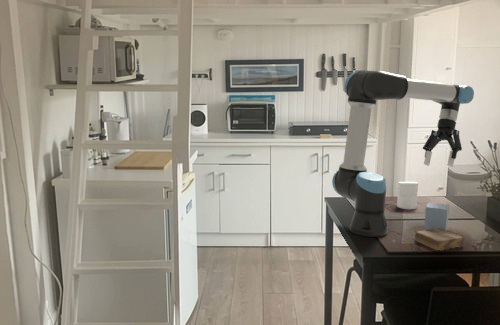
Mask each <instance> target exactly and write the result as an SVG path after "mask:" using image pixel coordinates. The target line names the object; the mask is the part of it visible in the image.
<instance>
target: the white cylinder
mask: <svg viewBox="0 0 500 325" xmlns="http://www.w3.org/2000/svg"><path fill="white" fill-rule="evenodd" d="M397 184H398V186H397V198H396V199H397V200H396V202H397V203H396V207H397V208H400V209H402V210H403V209H404V210H416V209H417V207H418V206H417V203H418V191H419V190H418V189H419V183H418V182H417V181H398V183H397Z"/></svg>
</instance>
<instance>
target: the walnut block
mask: <svg viewBox="0 0 500 325" xmlns="http://www.w3.org/2000/svg"><path fill="white" fill-rule="evenodd" d="M414 238H415V239H414V241H415V242H418V243H419V244H422V245H424V246H426V247H428V248H431V249H433V250H435V251H437V250H440V251H445V250H444V249H446V250H450V249H449V248H452V249H456V248H455V247H458V248H462V247H461V246H464V237H463V236H461V235H458V234H456V233H454V232H450V231H449V230H447V231H446V230H443V229H441V228H436V229H430V230H424V229H423V230H419V231H415V237H414Z"/></svg>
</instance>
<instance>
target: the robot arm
mask: <svg viewBox="0 0 500 325" xmlns="http://www.w3.org/2000/svg"><path fill="white" fill-rule="evenodd" d="M343 88H344V92H345V94H346V95H347V103H348V105H349V106H350V110H349V117H348V124H347V134H346V140H345V147H344V154H343V155H344V156H343V162H342V163H340V164H339V166H338V169H337V171H336V172H335V173H334V174H333V176H332V180H331V183H332V188H333V190H334V191H335V192H336V194H338V195H340V196H341V197H343V198H346V199H348V200H351V201H354V202H355V203H354V204H355V205H354V213H353V215H352V218H351V222H350V224H349V231H350V232H351V233H353V234H355V235H357V236H361V237H369V238H370V237H371V238H374V237H375V238H377V237H384V236H386V235H388V232H389V230H388V229H389V226H388V223H387V222H388V221H387V219H386V215H385V210H386V209H385V208H386V198H387V197H386V193H387V181H386V178H385V177H384V176H383V175H381V174H379V173H375V172H370V171H369V172H368V169H367V167H366V166H365V158H366V151H367V145H368V144H367V143H368V137H369V130H370V124H371V123H370V122H371V116H372V115H371V114H372V110H373V109H372V108H374V107H375V106H376V104H377V101H384V100H403V99H414V100H424V101H432V102H435V103H437V104H440V105H441V108H440V111H439V117H438V118H439V119H438V121H437V130H434V129H432V130H431V132H430V135H429V137H428V138H427V140H426V142H425V143H424V145H423V147H422V150H424V151H425V152H424V162H423V165H424V166H427V167H429V166H430V163H431V158H432V155H433V152H432V150H433V149H434V148H435V147H436V146H437V145H438V144H439V143H440V142H442V141H446V142H448V145H449V146H450V149H451V150H450V151H449V156H448V159H447V164H446V166H448V167H454V165H455V164H454V163H455V159H456V158H457V154H458V152H460V151H462V150H463V149H462V142H461V139H460V131H459V130H458V129H456V125H457V121H458V115H459V110H460V105H464V104H469V103H471V102H472V101H473V100H474V96H475V91H474V89H473V87H472V86H470V85H465V84H463V85H459V84H452V83H444V82H436V81H429V80H428V81H427V80H421V79H419V80H418V79H414V78H413V79H411V78H407V77H406V76H405V75H403V74H401V75H400V74H397V73H396V74H395V73H391V72H388V71H383V70H365V69H364V70H358V71H357V70H356V71H354V72H352V73H350V75H348V76H347V77H346V80H345V82H344V87H343Z"/></svg>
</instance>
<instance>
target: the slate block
mask: <svg viewBox="0 0 500 325" xmlns="http://www.w3.org/2000/svg"><path fill="white" fill-rule="evenodd" d="M449 213H450V204H445V203H444V204H443V203H436V202H427V204H426V206H425V213H424V214H425V215H424V226H423V228H424V229H423V230H430V229H436V228H441V229H443V230H446V231H448V225H449V224H448V223H449Z"/></svg>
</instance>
